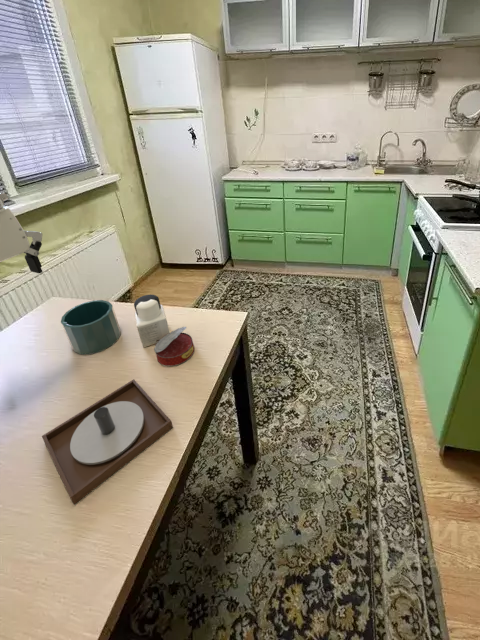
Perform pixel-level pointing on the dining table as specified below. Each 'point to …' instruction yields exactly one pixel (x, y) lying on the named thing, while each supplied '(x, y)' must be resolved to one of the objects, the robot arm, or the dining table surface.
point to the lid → (107, 433)
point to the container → (150, 319)
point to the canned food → (174, 348)
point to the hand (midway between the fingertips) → (14, 282)
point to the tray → (88, 477)
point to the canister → (91, 326)
